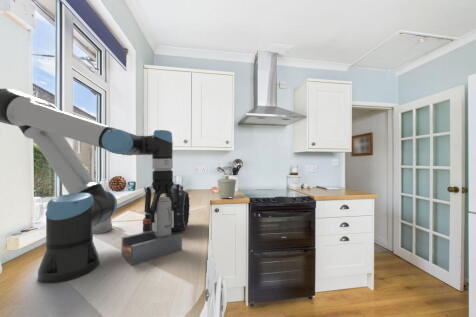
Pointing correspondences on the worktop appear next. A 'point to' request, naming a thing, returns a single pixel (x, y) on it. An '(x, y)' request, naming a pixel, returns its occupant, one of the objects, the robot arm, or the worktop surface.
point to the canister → (226, 187)
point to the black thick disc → (181, 211)
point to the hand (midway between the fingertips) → (163, 228)
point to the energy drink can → (163, 217)
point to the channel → (149, 246)
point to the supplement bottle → (147, 223)
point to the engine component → (103, 226)
